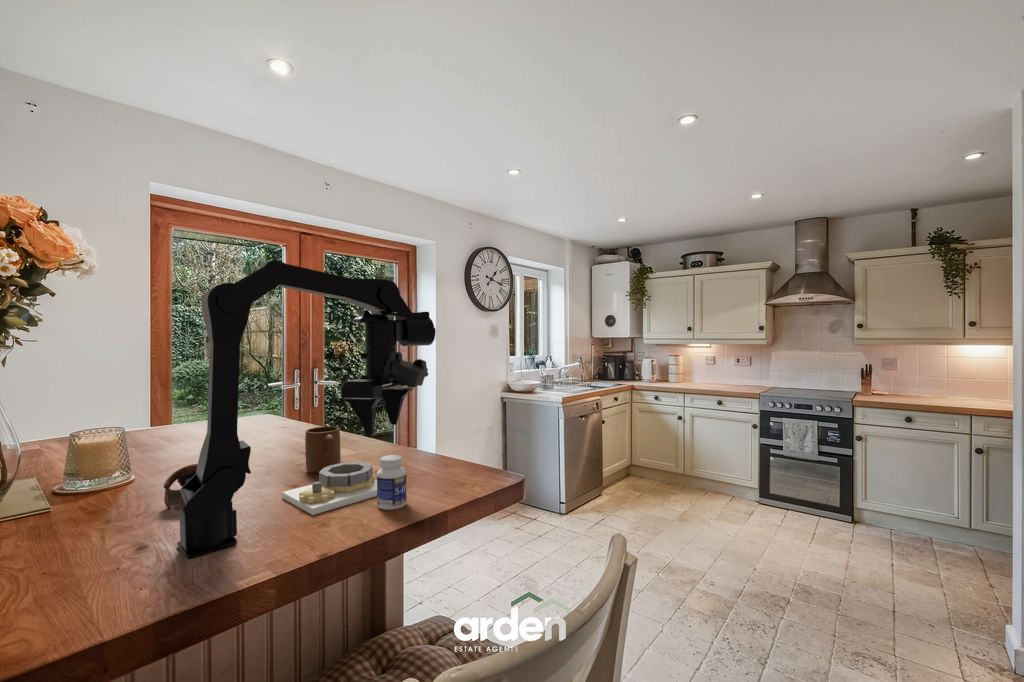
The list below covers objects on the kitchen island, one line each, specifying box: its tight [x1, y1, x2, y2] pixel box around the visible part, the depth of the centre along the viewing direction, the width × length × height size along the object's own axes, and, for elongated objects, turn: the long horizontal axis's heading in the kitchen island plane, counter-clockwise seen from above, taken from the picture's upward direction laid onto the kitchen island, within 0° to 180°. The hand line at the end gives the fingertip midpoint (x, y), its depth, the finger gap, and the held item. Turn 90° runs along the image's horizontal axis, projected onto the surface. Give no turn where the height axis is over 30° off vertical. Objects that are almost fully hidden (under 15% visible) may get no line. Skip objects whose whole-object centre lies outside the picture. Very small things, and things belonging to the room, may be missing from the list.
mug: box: [304, 426, 342, 474], centre depth 110 cm, size 12×8×9 cm, turn 35°
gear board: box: [281, 461, 377, 516], centre depth 94 cm, size 16×13×4 cm
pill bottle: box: [376, 454, 407, 511], centre depth 88 cm, size 5×5×9 cm
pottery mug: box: [163, 463, 198, 511], centre depth 92 cm, size 12×10×8 cm
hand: (382, 429), depth 90 cm, fingers open, 9 cm apart
